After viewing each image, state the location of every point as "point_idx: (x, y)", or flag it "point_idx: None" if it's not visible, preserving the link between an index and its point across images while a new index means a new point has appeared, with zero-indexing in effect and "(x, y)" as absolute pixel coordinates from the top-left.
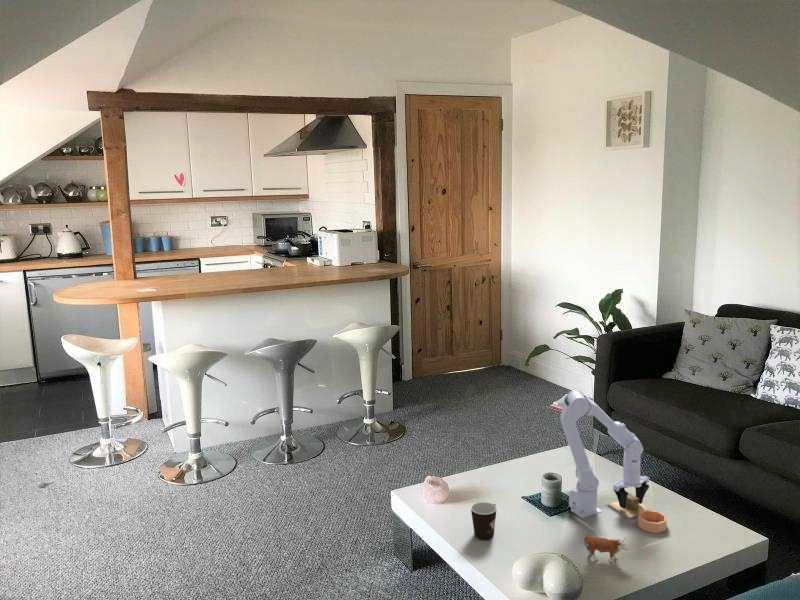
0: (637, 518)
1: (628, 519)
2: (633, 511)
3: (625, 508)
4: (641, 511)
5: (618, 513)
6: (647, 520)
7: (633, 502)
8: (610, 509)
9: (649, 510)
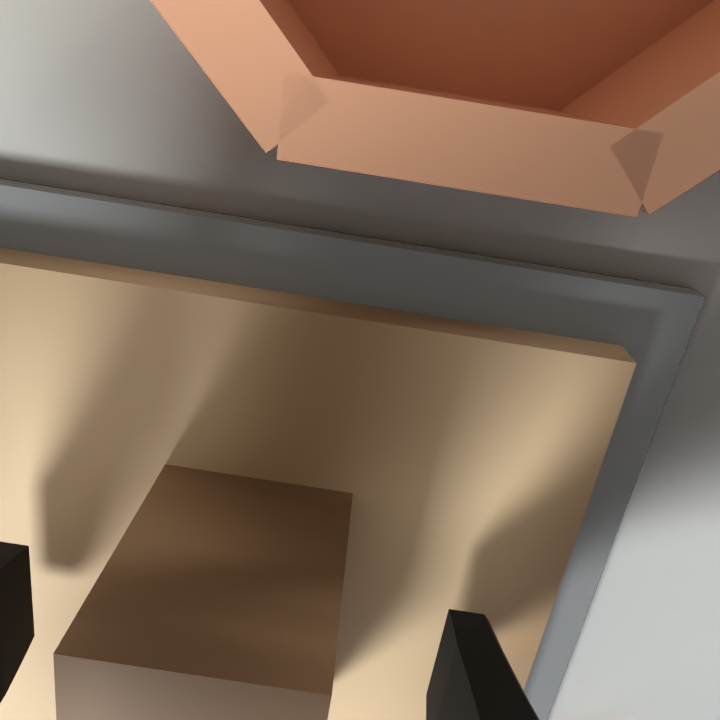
0: (463, 266)
1: (644, 352)
2: (343, 464)
3: (372, 608)
4: (522, 193)
5: (571, 585)
6: (377, 46)
7: (289, 628)
8: (545, 718)
9: (234, 66)
